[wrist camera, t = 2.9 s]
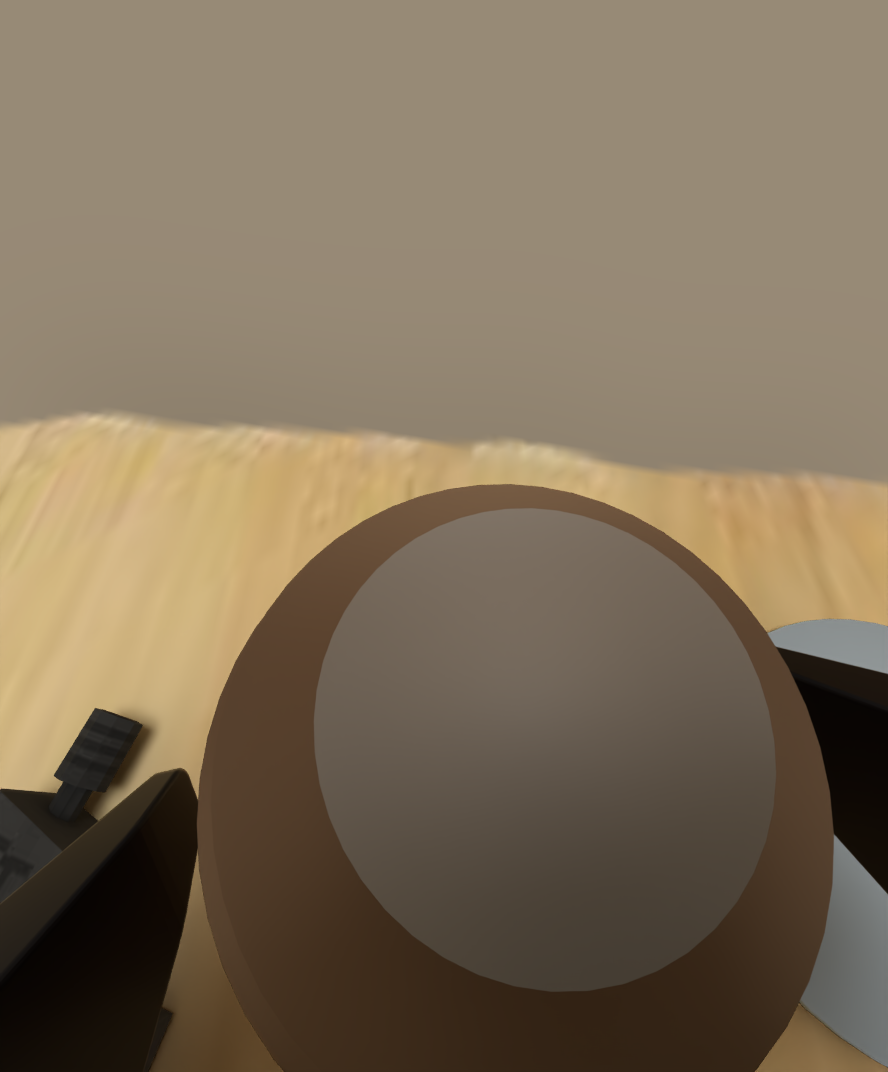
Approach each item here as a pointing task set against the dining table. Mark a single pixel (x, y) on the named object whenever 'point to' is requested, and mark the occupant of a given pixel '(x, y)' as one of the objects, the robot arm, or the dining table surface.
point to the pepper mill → (513, 802)
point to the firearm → (65, 811)
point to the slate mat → (849, 877)
